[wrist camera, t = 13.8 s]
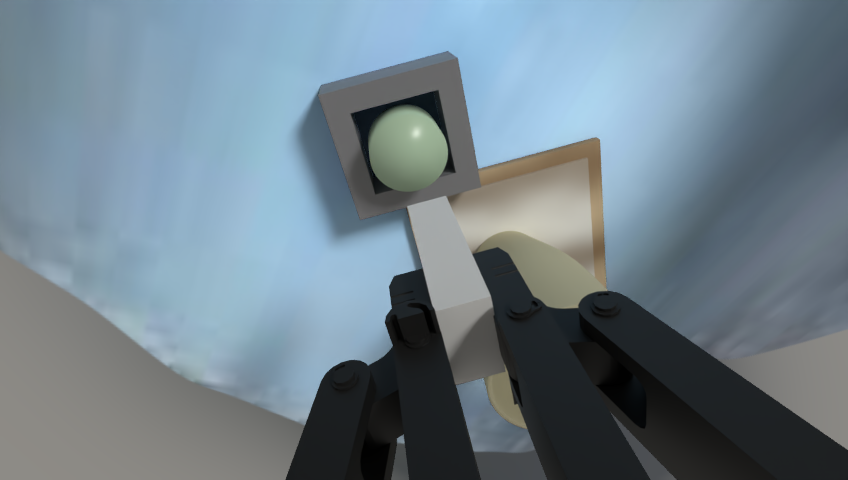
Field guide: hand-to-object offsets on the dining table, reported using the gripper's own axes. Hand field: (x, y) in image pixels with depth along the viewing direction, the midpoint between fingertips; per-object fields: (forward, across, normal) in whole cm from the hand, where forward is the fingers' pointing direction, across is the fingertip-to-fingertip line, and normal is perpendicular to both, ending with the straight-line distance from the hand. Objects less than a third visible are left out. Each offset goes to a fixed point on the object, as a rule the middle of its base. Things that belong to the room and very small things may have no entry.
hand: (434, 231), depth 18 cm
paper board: (+14, +6, -12) cm, 20 cm away
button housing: (+14, 0, 0) cm, 14 cm away
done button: (+12, 0, 0) cm, 12 cm away
